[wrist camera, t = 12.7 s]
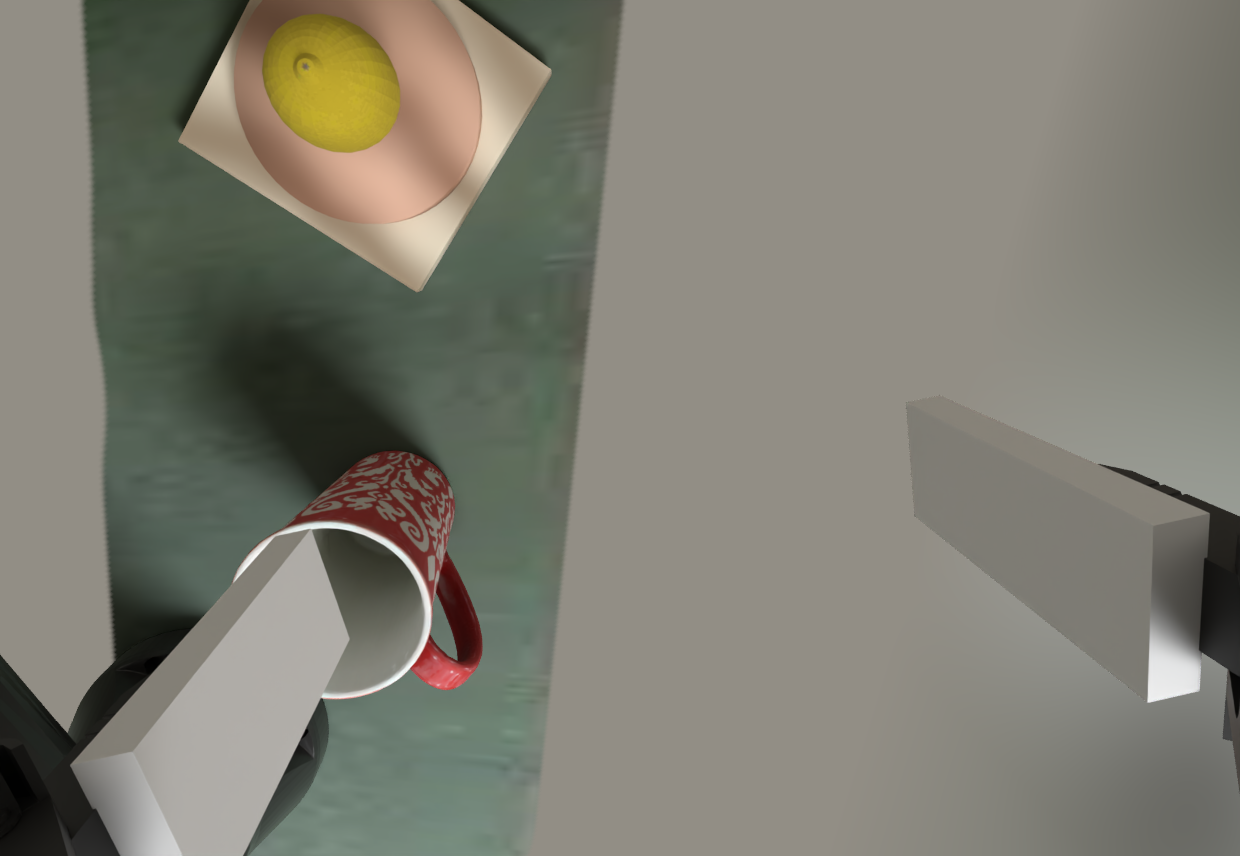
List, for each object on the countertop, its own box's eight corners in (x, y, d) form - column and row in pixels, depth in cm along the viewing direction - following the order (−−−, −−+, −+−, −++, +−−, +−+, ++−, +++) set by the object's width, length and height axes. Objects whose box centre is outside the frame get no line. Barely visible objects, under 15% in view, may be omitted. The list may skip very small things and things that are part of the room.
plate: (421, 290, 41) (412, 294, 38) (192, 144, 38) (162, 137, 35) (551, 75, 39) (551, 63, 36) (317, -100, 36) (296, -129, 33)
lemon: (437, 108, 36) (406, 76, 28) (360, 183, 37) (309, 171, 29) (355, 15, 35) (299, -46, 27) (277, 94, 35) (200, 57, 28)
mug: (290, 499, 44) (181, 612, 31) (394, 405, 43) (327, 482, 30) (434, 628, 47) (390, 778, 34) (535, 544, 46) (528, 666, 33)
